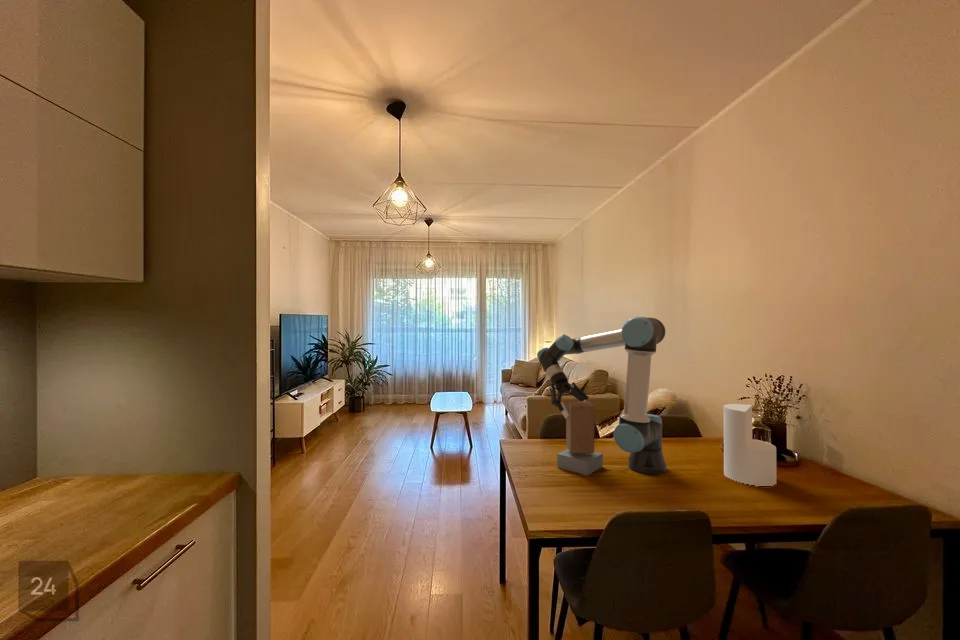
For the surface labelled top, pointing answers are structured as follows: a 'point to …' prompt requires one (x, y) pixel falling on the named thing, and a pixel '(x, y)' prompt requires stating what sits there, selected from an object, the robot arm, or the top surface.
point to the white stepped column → (746, 449)
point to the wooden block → (580, 427)
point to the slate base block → (580, 461)
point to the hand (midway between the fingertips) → (579, 415)
